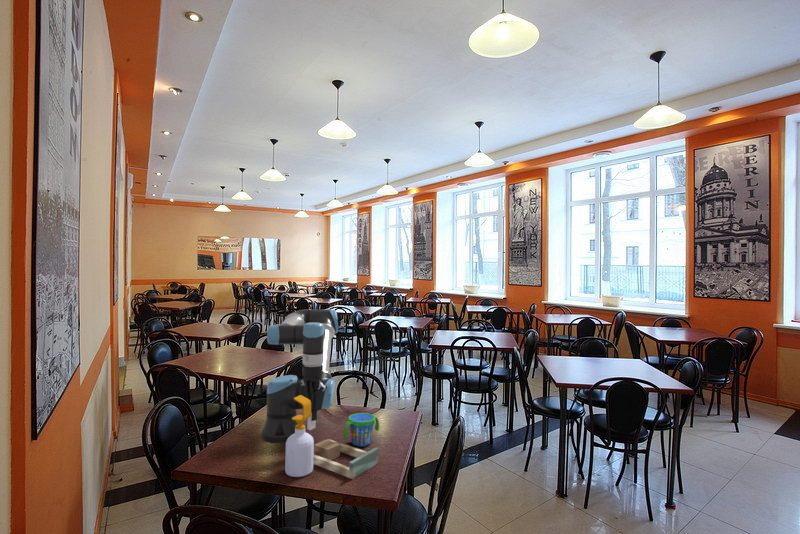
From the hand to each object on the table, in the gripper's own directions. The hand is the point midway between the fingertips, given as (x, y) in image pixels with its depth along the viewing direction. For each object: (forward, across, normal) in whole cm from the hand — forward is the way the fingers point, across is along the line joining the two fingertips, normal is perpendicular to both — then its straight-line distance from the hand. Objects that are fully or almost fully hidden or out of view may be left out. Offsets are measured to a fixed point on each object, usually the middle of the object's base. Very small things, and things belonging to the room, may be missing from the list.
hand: (311, 428), depth 151 cm
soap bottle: (+9, +8, -13) cm, 17 cm away
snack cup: (+9, +11, +16) cm, 21 cm away
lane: (+8, +14, 0) cm, 16 cm away
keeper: (+9, +8, 0) cm, 12 cm away
